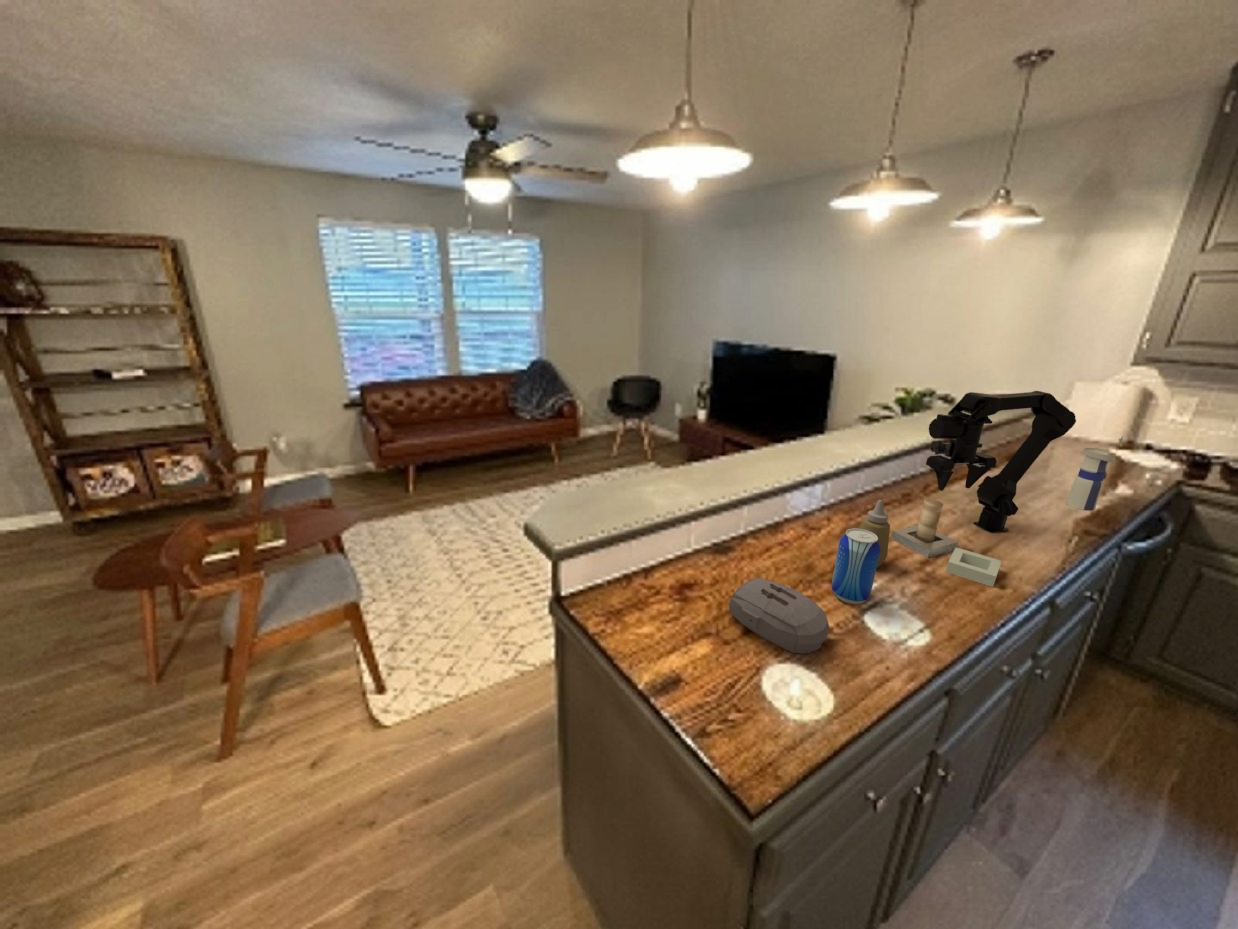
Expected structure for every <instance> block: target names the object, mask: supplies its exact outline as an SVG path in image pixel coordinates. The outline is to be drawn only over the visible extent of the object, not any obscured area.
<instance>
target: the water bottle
mask: <svg viewBox="0 0 1238 929" xmlns="http://www.w3.org/2000/svg"><path fill="white" fill-rule="evenodd" d="M1123 439H1124V436H1121V438H1118V444H1117V446H1120V448H1122V446H1123V443H1124V442H1125V441H1124V440H1123ZM1108 453H1109V452H1108V451H1107V450H1106V449H1103V448H1099V447H1098V448H1097V447H1084V448H1083V449H1082V450H1081V451H1080V454H1081V455H1083V456H1084V460H1083V462H1082V463H1081V464H1080V465H1078V466H1079V468H1080V469H1079V471H1078V474H1077V475H1076V477H1074V480H1073V482H1072V485H1071V488H1070V490H1069V493H1068V495H1067V497H1066V498H1065V501H1064V504H1065V505H1067V506H1069V507H1071V508H1073V509H1077V510H1081V511H1089V512H1090V511H1091V512H1092V511H1095V510H1096V508H1097V504H1098V502H1099V498H1100V496H1101V493H1102V490H1103V486H1104V480H1106V479H1107V478H1108V476H1109V473H1108V472H1109V470H1108V464H1109V463H1112V464H1113V463H1114V460H1115V457H1116V455H1117V454H1108Z"/></svg>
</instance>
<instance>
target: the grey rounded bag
mask: <svg viewBox="0 0 1238 929" xmlns="http://www.w3.org/2000/svg"><path fill="white" fill-rule="evenodd" d="M729 599H730V600H729V603H728V608H729V612H730V613H731V616H733V617H734V618H735V619H736V620H737V621H739V623H740V624H742V625H743V626H744V627H745V626H746V628H747V629H748V630H750V631H751V632H752V633H754V634H756V636H758V637H760V638H761V639H763V640H765V641H767V642H769V643H771V644H773V645H775V646H778V648H781V649H783V650H785V651H788V652H790V653H792V654H810V653H812V652H815V651H817V650H819V649H820V648H821V647H822V644H823V643H824V642H825V641H826V639H827V638H828V635H829V633H830V631H831V629H830V625H829V620H828V617H827V615H826V612H825V611H824V610H823V609H822V607H820V606H819V605H818V604H817V603H816V602H815V601H813V599H811V598H810V597H808V596H807V595H805V594H803V593H802V592H799V591H798V590H797V589H795V588H791V587H789V586H786V585H785V584H782V583H780V582H777V581H776V582H775V581H772V580H769V579H765V578H762V577H755V578H752V579H750V580H748V581H746V582H744V583H743V584H742V585H741V586H739V587H738V588H737V589H736V590H735V591H734V592H733V594H732V595H731V597H730V598H729Z"/></svg>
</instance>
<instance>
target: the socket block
mask: <svg viewBox="0 0 1238 929" xmlns="http://www.w3.org/2000/svg"><path fill="white" fill-rule="evenodd" d="M917 528H918V524H917V525H911V526H907V527H903V528H899V529H898V528H897V529H895V530H891V531H892V532H891V537H890V539H891V540H893V541H895V542H896V543H898V544H901V546H905V547H907V548H908V549H910V550H912V551H913V552H916V553H918V554H919V555H921V556H923V557H925V558H927V559H928V558H931V557H935V556H940V555H942V554H947V553H951V552H954V550H955V548H958V545H959V541H957V540H956V539H953V538H952V537H951V538H950V537H948V536H947V535H944V534H942V533H940V532H938V531H936V534H935V538H934V541H933V542H932V543H928V544H927V543H925V542H923V541H921V540H919V539H917V538H915V536H916V532H917Z"/></svg>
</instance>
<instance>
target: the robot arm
mask: <svg viewBox="0 0 1238 929" xmlns="http://www.w3.org/2000/svg"><path fill="white" fill-rule="evenodd" d="M1021 409H1023V410H1024V409H1030V411H1031V412H1032V413H1033V415H1034V416H1035V417H1034V418H1033V420H1032V422H1031V432H1030V434H1029V435H1028V437H1026V439H1025V440H1024V441H1023V443H1022V444H1021V445H1020V446H1019V448H1018V449H1017V450H1016V452H1015V453H1014V454H1013V455H1012V456H1011V458H1010V459H1009V460H1008V462H1007V463H1006V464H1005V466H1004V467H1003V468H1002V469H1001V471H1000V472H999V473H997V474H996V475H994V476H990V475H986V476H985V474H987V472H989V471H991V470H992V469H993V468H996V465H997V463H998V461H997V459H996V457H995V456H993V455H989V454H986V453H983V452H978V448H979V449H980V448H982V447H983V444H982V443H980V440H981V436H982V433H983V429H984V425H986V424H987V425H991V424H993V421H992V420H991V419H990V418H989V417H990V416H993V415H996V414H997V413H998V412H1001V411H1009V410H1011V411H1013V410H1021ZM1076 423H1077V419H1076V414H1075V412H1074V411H1071V410H1070V409H1069V408H1068V407H1067V406H1065V405H1064V404H1062V403H1061V402H1060V401H1058V399H1057V398H1056V397H1055V396H1054V395H1053V394H1051V393H1050V392H1046V391H1041V390H1033V391H1028V392H1017V393H1016V392H1015V393H1005V394H988V393H984V392H983V393H981V392H972V391H971V392H970V391H969V392H967V393H965V394H964V395H963V396H962V398H961V399H960V400H959V401H958V402H957V403H956V404H955V405H954V406H953V407H952V408H951V409H950V410H949V411H948V413H947V414H942V413H941V414H940V413H938V414H937V415H936V418H934V419H933V420H932V421H930V423H929V425H928V433H929V436H930V437H931V438H932V439H935V440H932V442H931V443H930V444H931V445H930V451H931V452H932V453H934V455H929V456H928V457H927V458H926V462H925V466H928V467H929V468H930V469H932V470H933V471H934V473H935V476H936V481H937V487H938V490H939V491H942V492H943V491H944V489H945V488H947V485H948V483H949V480H950V479H951V477H952V475H953V474H954V471H953V469H954V468H955V466H963V465H966V466H967V475H966V478H965V484H964V485H965V488H966V489H970V488H971V487H972V486H973V485H974V484H976V482H977V481H979V479H980V478H982V477H983V476H985V477H984V479H983V480H982V482H981V483H980V484H979V485H977V487H978V488H977V490H976V496H977V500H978V504H979V505H981V506H982V510H981V512H980V514H979V519H978V521H973V525H975V526H978V527H979V528H981V529H984V530H985V531H987V532H989V533H993V534H994V533H1002V532H1004V533H1005V532H1009V531H1010V529H1009V528H1007V527H1006V523H1007V520H1008V517H1011V516H1015V515H1016V513H1017V512H1018V511H1019V507H1018V506H1017V505H1016V503H1015V502H1014V498H1015V497H1016V495H1017V487H1018V486H1017V484H1018V482H1019V481H1020V480H1021V479H1022V478H1023V476H1024V475H1025V473H1026V472H1028V470H1029V469H1030V468H1031V466H1032V465H1033V464H1034V463H1035V462H1036V460H1037V459H1038V458H1039V456H1040V455H1041V454H1042V453H1043V451H1044V450H1045V449H1046V448H1047V447H1048V446H1049V444H1050V443H1051V442H1052V441H1054V440H1057V439H1058V438H1061V437H1063V436H1064V435H1066V434H1067V433H1068V432H1069V431H1070V430H1071V429H1072V428H1073V427H1074V426H1075V424H1076ZM938 439H939V440H938ZM941 439H942V440H943V439H944V440H945V439H948V440H949V439H950V440H949V442H948V443H943V442H942V440H941ZM943 455H944V456H943Z"/></svg>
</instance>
